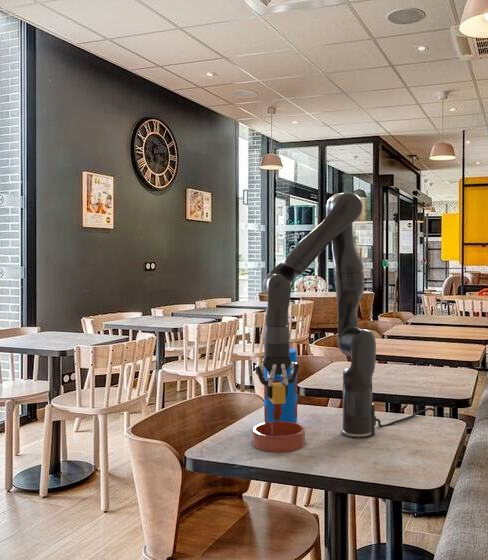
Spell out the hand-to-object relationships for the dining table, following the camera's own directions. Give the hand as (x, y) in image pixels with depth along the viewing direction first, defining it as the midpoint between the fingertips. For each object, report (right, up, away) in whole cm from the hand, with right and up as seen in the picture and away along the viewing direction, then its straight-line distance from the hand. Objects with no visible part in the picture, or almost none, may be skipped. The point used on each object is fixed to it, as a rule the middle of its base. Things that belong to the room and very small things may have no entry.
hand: (277, 397), depth 180 cm
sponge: (0, -1, 0) cm, 1 cm away
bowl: (0, -14, 0) cm, 14 cm away
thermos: (+1, -13, +18) cm, 22 cm away
